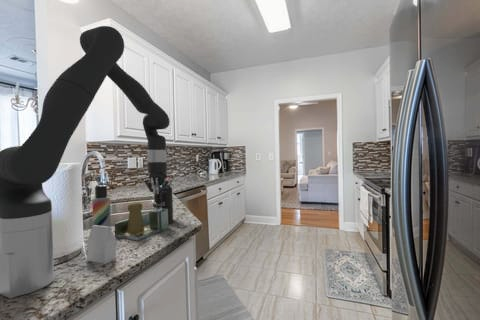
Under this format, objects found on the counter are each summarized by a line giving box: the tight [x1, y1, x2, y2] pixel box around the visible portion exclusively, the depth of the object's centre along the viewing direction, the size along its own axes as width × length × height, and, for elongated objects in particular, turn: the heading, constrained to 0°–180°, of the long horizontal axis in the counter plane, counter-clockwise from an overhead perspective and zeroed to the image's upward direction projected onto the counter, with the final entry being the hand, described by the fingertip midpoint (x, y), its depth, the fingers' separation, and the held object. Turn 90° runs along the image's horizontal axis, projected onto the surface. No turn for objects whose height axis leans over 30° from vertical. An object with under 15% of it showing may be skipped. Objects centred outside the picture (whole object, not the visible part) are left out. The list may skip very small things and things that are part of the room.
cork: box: [127, 201, 144, 233], centre depth 90 cm, size 6×6×11 cm
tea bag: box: [86, 224, 117, 265], centre depth 68 cm, size 4×7×10 cm, turn 71°
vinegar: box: [162, 177, 174, 223], centre depth 108 cm, size 7×7×20 cm
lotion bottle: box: [91, 184, 112, 228], centre depth 86 cm, size 6×6×20 cm
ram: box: [152, 201, 165, 211], centre depth 96 cm, size 5×5×8 cm
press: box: [114, 208, 170, 242], centre depth 92 cm, size 16×12×8 cm
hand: (158, 202), depth 96 cm, fingers closed
